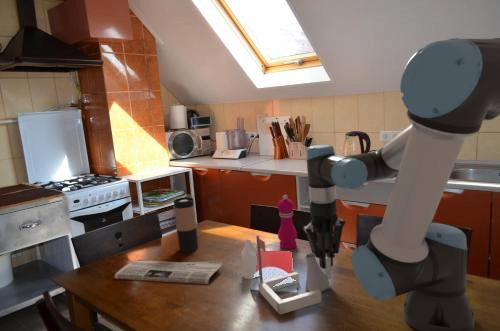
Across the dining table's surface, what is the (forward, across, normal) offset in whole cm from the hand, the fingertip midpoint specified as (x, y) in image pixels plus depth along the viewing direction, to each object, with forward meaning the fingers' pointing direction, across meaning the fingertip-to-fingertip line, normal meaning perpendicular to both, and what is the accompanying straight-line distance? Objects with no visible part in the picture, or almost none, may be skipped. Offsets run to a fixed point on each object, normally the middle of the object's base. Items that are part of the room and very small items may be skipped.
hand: (326, 277), depth 110 cm
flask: (+2, +4, +1) cm, 4 cm away
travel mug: (+3, +31, -51) cm, 60 cm away
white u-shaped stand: (+2, +12, +1) cm, 12 cm away
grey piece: (+3, +18, -17) cm, 25 cm away
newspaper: (+3, +41, -33) cm, 53 cm away
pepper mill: (+3, -3, -32) cm, 33 cm away
